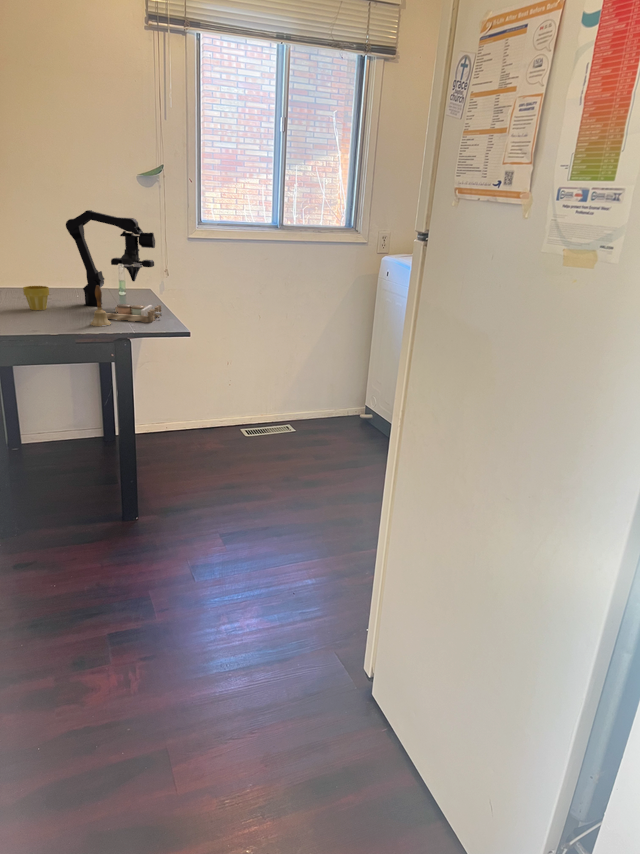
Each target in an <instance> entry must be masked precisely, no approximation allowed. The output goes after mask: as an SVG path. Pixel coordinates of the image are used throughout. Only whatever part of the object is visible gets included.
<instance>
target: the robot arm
mask: <svg viewBox="0 0 640 854" xmlns="http://www.w3.org/2000/svg"><path fill="white" fill-rule="evenodd" d="M90 221H94V222H98V223H102V224H106V225H111V226H115V227H117V228H119V229H121V230H123V231H122V232H121V234H120V235H119V236H120V237H124V245H125V249H124V252H123V253H124V254H123V255H121V257H113V258H111V260H110V263H111V264H110V265H111V266H119V265H123V268H125V269H126V270H127V271H128V274H129V275H130V276H129V277H130V279H131V281H132V282H135V281H136V279H137V276H138V275H139V274H138V273H139V271H140V269H141V268H153V267H155V262H154V260H153V259H143V260H141V258H140V254H139V252H140V248H139V246H141V248H147V249H150V248H151V249H155V247H156V239H155V235H154V232H143V231H144V230H142V229H141V227H140V226H139V222H138V221H137V219H135V218H134V217H133V218H132V217H118V216H114V215H109V214H106V213H101V212H97V211H94V210H91V209H90V210H88V209H87V210H85V211H84V212H83V213H81V214H80V215H78V216H76V217H74V218H69V219H67V221H66V222H65V228H66V230H67V232H68V233H69V235H70V236H71V238H72V239H73V241H75V245H76V248H77V251H78V253H79V255H80V258H81V260H82V262H83V263H82V264H83V266H84V269H85V271H86V274H85V275H86V281H87V284H86V285H85V286H84V287H82V290H83V292H84V301H85V303H84V304H83V305H84V306H88V307H97V299H96V297H95V289H96V285H99V286H100V289H102V288H103V286H104V284H105V277H104V276H103V271H102V270H100V271H99V270H98V269H97V267H96V265H95V263H94V260H93V258H92V255H91V252H90V249H89V247H88V244H87V241H86V239H85V227H84V226H85V225H86V224H88V223H89V222H90ZM102 301H103V299H102V298H101V305H103V302H102Z"/></svg>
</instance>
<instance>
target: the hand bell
mask: <svg viewBox="0 0 640 854" xmlns="http://www.w3.org/2000/svg"><path fill="white" fill-rule="evenodd" d="M101 289H102V288H100V286H99V285H96V289H95V297H96V299H97V306H96V308H97V309H96V310H95V311H94V313H93V319H92V321H91V322H90V326H92V325H93V326H92V327H100V326H101V327H103V326H102V325H109V326H111V325H112V322H111V321H110V320H108V319H107V316H106V313H107V312H106V311H105V310H103V308H102V307H103V306H102V304H101V298H102V295H103V294H102V290H101ZM110 324H111V325H110Z"/></svg>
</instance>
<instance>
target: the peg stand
mask: <svg viewBox="0 0 640 854" xmlns="http://www.w3.org/2000/svg"><path fill="white" fill-rule="evenodd" d="M151 309H154V308H153V304H149V305H147V306H146V307H145V308H144V309H142V310H141V316H148V314H147V312H148V311H149V310H151ZM155 314H158V315H161V316H162V315H163V312H162V311H161V312H155Z"/></svg>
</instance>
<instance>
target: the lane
mask: <svg viewBox="0 0 640 854" xmlns="http://www.w3.org/2000/svg"><path fill="white" fill-rule="evenodd" d="M116 312H118V310H117V306H115V313H111V312H110V313H107V312H106V316H107V319H117V320H116V321H121V320H128V321H127V322H135V321H142V322H141V323H150V322H151V323H152V322H154V321H155V320H156V318H155V317H158V318H160V317H161V316H162V315H158V314H155V312H162V305H161V304H157V306H154V308H153V309H151V310H149V311H148V312H147V314H148V316H141V315H126V314H118V313H116ZM159 316H160V317H159Z"/></svg>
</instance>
